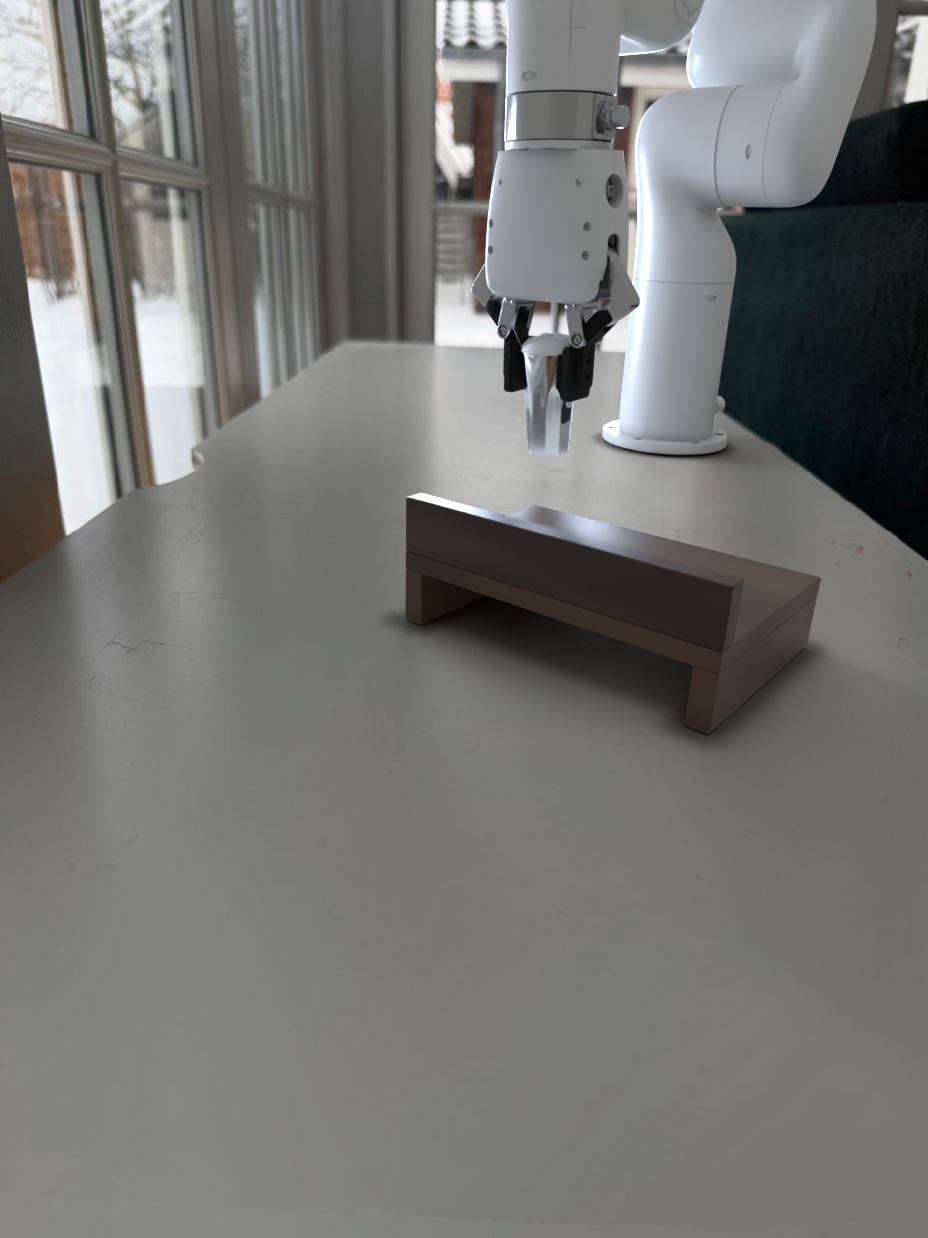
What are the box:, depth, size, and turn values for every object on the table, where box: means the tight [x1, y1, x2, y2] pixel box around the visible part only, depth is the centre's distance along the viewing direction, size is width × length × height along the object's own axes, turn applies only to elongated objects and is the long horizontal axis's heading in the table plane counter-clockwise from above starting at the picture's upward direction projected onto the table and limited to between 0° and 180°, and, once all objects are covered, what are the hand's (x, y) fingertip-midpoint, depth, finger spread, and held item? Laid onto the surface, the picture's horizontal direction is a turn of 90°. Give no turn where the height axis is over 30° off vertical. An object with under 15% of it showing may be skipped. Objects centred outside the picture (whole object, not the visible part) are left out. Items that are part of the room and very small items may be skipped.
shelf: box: [404, 492, 822, 735], centre depth 46 cm, size 12×18×7 cm, turn 51°
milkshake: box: [511, 323, 575, 457], centre depth 69 cm, size 4×5×10 cm
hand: (546, 391), depth 69 cm, fingers closed on milkshake, 4 cm apart
